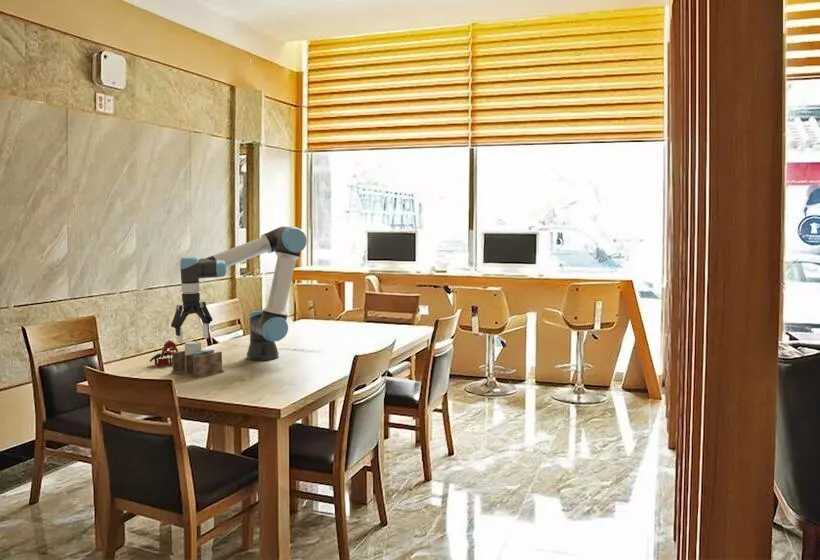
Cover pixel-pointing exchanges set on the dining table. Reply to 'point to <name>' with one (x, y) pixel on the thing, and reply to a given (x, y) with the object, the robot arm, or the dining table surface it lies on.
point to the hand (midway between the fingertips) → (193, 340)
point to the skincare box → (192, 347)
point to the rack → (197, 363)
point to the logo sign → (165, 354)
